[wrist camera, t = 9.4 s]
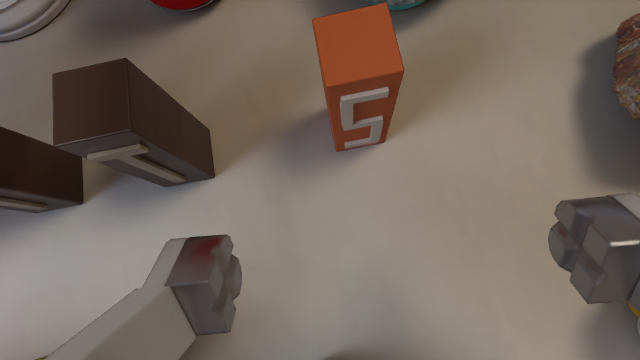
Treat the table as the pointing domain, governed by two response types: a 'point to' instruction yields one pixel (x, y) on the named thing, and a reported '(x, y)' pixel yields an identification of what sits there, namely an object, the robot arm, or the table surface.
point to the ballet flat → (397, 3)
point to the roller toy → (636, 312)
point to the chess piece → (26, 16)
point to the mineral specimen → (628, 66)
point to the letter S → (359, 73)
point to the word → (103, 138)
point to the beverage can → (181, 4)
